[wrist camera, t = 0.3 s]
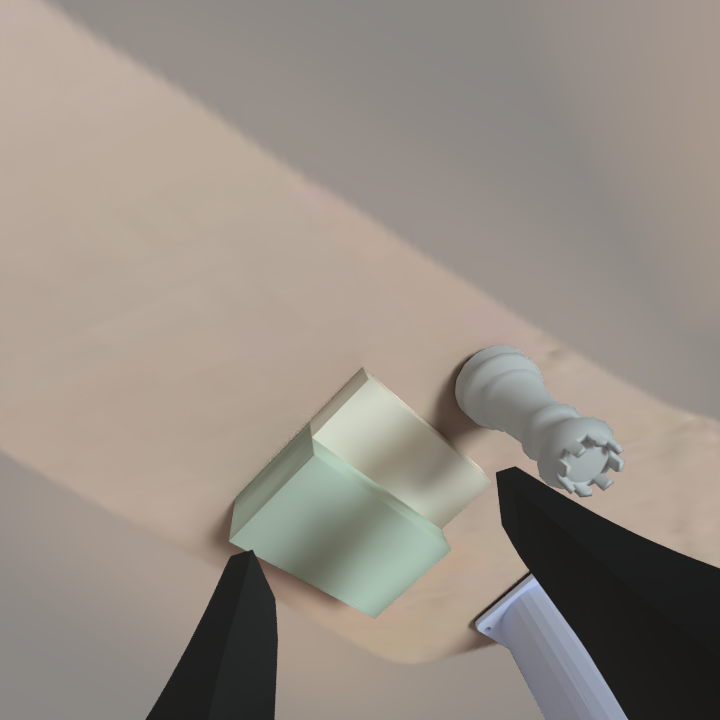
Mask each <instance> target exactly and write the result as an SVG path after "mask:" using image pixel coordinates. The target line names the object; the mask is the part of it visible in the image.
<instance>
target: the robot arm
mask: <svg viewBox="0 0 720 720" xmlns="http://www.w3.org/2000/svg"><path fill="white" fill-rule="evenodd" d="M496 478H497V487H498V496H499V505H500V513H501V522H502V526H503V528H504V530H505V531H506V533H507V535H508V537H509V539H510V540H511V542H512V544H513V546H514V547H515V549H516V551H517V553H518V554H519V556H520V558H521V559H522V561H523V562H524V563H525V565H526V566H527V568H528V569H529V570H530V572H531V573H532V574H530V575H529V576H528V577H527V578H526V579H525V580H523V581H522V582H521V583H520V584H519V585H517V586H516V587H515V588H514V589H513V590H512V591H510V592H509V593H508V594H507V595H506V596H505V597H503V598H502V599H501V600H500V601H499V602H498V603H496V604H495V605H494V606H493V607H492V608H490V609H489V610H488V611H487V612H486V613H485V614H483V615H482V616H481V617H480V618H479V619H478V620H477V621H476V622H475V626H476V628H477V630H478V631H479V632H481V633H483V634H484V635H486V636H488V637H489V638H491V639H493V640H494V641H496V642H498V643H500V644H501V645H503V646H505V647H506V648H508V649H509V650H510V651H511V653H512V655H513V657H514V659H515V661H516V663H517V665H518V667H519V669H520V671H521V673H522V675H523V677H524V679H525V681H526V683H527V685H528V687H529V688H530V690H531V692H532V694H533V696H534V698H535V700H536V702H537V704H538V706H539V708H540V710H541V712H542V714H543V716H544V718H545V720H720V568H717V567H715V566H712V565H709V564H707V563H704V562H701V561H699V560H696V559H693V558H691V557H688V556H686V555H683V554H681V553H678V552H676V551H673V550H671V549H669V548H667V547H664V546H662V545H660V544H657V543H655V542H653V541H650V540H648V539H646V538H644V537H641V536H639V535H637V534H635V533H633V532H631V531H629V530H627V529H625V528H623V527H621V526H619V525H617V524H615V523H613V522H611V521H609V520H607V519H605V518H603V517H601V516H599V515H597V514H596V513H594V512H592V511H590V510H588V509H587V508H585V507H583V506H581V505H580V504H578V503H576V502H574V501H572V500H571V499H569V498H567V497H565V496H564V495H562V494H560V493H559V492H557V491H555V490H554V489H552V488H550V487H549V486H547V485H545V484H544V483H542V482H540V481H539V480H537V479H536V478H534V477H532V476H531V475H529V474H527V473H526V472H524V471H522V470H521V469H519V468H517V467H516V466H515V467H511V468H508V469H505V470H502V471H499V472H496ZM277 647H278V635H277V617H276V603H275V597H274V595H273V593H272V591H271V589H270V586H269V584H268V582H267V580H266V578H265V575H264V573H263V571H262V569H261V567H260V564H259V562H258V560H257V558H256V556H255V553H254V551H253V549H252V550H249V551H246V552H243V553H240V554H237V555H233V556H231V557H230V559H229V560H228V563H227V565H226V567H225V569H224V571H223V574H222V576H221V578H220V580H219V582H218V585H217V587H216V589H215V591H214V593H213V596H212V598H211V600H210V602H209V604H208V606H207V608H206V610H205V612H204V614H203V617H202V618H201V620H200V623H199V624H198V626H197V629H196V630H195V632H194V634H193V636H192V638H191V640H190V642H189V644H188V646H187V648H186V650H185V652H184V654H183V655H182V657H181V659H180V661H179V663H178V665H177V667H176V668H175V670H174V672H173V674H172V676H171V677H170V679H169V681H168V683H167V685H166V686H165V688H164V690H163V691H162V693H161V695H160V697H159V698H158V700H157V702H156V703H155V705H154V707H153V708H152V710H151V712H150V713H149V715H148V716H147V718H146V720H274V715H275V693H276V671H277Z"/></svg>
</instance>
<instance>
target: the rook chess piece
mask: <svg viewBox="0 0 720 720" xmlns="http://www.w3.org/2000/svg"><path fill="white" fill-rule="evenodd" d="M455 396H456V399H457V403H458V406H459V408H460V409H461V410H462V411H463V412H464V413H465V414H466V415H467V416H468V417H470V418H471V419H472V420H473V421H474V422H475V423H476V424H478V425H480V426H483V427H486V428H489V429H492V430H499V431H502V432H503V431H505V432H506V433H508V434H509V435H511V436H512V437H514V438H515V439H516V440H518V441H519V442H521V443H522V447H523V452H524V453H525V454H526V455H527V456H528V457H529V458H530V459H532V460H535V461H537V466H538V470H539V475H540V477H541V478H542V479H543V480H544V481H545V483H546V484H547V485H549V486H552V487H556V488H559V489H566V490H567V491H568V492H569V493H570V494H572V492H573V491H574V492H575V493H576V494H577V495H578V496H579V497H588V496H592V489H591V488H589V487H588V486H590V485H592V484H594V483H595V484H596V485H597V486H599V487H600V488H601V489H602V490H603V491H604V490H605V489H607V488H608V487H609V486H610V485H611V484H613V483H614V482H613V481H612V480H610V479H609V478H608V477H607V476H606V475H605V474H606V473H607V471H608V470H609V469H610V468H612V469H613V470H614V471H616V472H622V469H623V466H624V463H625V461H624V460H623V459H622V458H620V457H619V456H618V454H620V453H621V452H623V451H624V450H623V449H622V448H621V446H620V445H619V444H618V443H617V442H616V441H614V437H613V431H612V430H611V428H610V427H609V426H608V424H607V423H606V422H605V421H602V420H600V419H597V418H595V417H586V418H581V415H580V414H579V412H578V411H577V410H576V408H574V407H572V406H569V405H566V404H560V403H559V402H557V401H556V400H555V399H554V398H553V397H552V396H551V395H550V394H549V393H548V392H547V391H546V390H545V385H544V381H543V380H542V375H541V372H540V370H539V369H538V368H537V366H536V365H535V364H534V363H533V361H532V360H531V359H530V358H529V357H526V356H525V355H524V354H523V353H522V351H520V350H518V349H515V348H513V347H511V346H492V347H489V348H487V349H485V350H482V351H480V352H478V353H476V354H475V355H474V356H473V357H472V358H471V359H470V360H469V361H468V362H466V363H465V364H464V366H463V368H462V370H461V372H460V374H459V375H458V377H457V381H456V388H455Z"/></svg>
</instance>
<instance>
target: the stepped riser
mask: <svg viewBox="0 0 720 720" xmlns="http://www.w3.org/2000/svg"><path fill="white" fill-rule="evenodd" d="M491 484H492V483H491V481H490V480H489V479H488V477H487V476H486V475H485V473H484V472H483V471H482V469H481V468H480V467H479V466H478V465H477V464H476V463H474V462H473V461H472V460H471V459H470V458H469V457H467V456H466V455H465V454H464V453H463V452H461V451H460V450H459V449H458V448H457V447H456V446H454V445H453V444H452V443H451V442H450V441H449V440H447V439H446V438H445V437H444V436H443V435H442V434H440V433H439V432H438V431H437V430H436V429H435V428H433V427H432V426H431V425H430V424H429V423H428V422H426V421H425V420H424V419H423V418H422V417H420V416H419V415H418V414H417V413H416V412H415V411H413V410H412V409H411V408H410V407H409V406H408V405H406V404H405V403H404V402H403V401H402V400H401V399H399V398H398V397H397V396H396V395H395V394H394V393H392V392H391V391H390V390H389V389H388V388H387V387H385V386H384V385H383V384H382V383H381V382H379V381H378V380H377V379H376V378H375V377H374V376H372V375H371V374H370V373H369V372H368V371H367V370H365V369H364V368H362V369H361V370H360V371H359V372H358V373H357V374H356V375H355V376H354V377H353V378H352V379H351V380H350V381H349V382H348V383H347V384H346V385H345V386H344V387H343V388H342V389H341V390H340V391H339V392H338V393H337V394H336V395H335V397H334V398H333V399H332V400H331V401H330V402H329V403H328V404H327V405H326V406H325V407H324V408H323V409H322V410H321V411H320V412H319V413H318V414H317V415H316V416H315V417H314V418H313V419H312V420H311V421H310V422H309V423H308V424H307V425H306V426H305V427H304V428H303V429H302V430H301V432H300V433H299V434H298V435H297V436H296V437H295V438H294V439H293V440H292V441H291V442H290V443H289V444H288V445H287V446H286V447H285V448H284V449H283V450H282V451H281V452H280V453H279V454H278V455H277V456H276V457H275V458H274V459H273V460H272V461H271V462H270V463H269V464H268V465H267V467H266V468H265V469H264V470H263V471H262V472H261V473H260V474H259V475H258V476H257V477H256V478H255V479H254V480H253V481H252V482H251V483H250V484H249V485H248V486H247V487H246V488H245V489H244V490H243V491H242V492H241V493H240V494H239V495H238V496H237V497H236V498H235V503H234V510H233V517H232V524H231V530H230V537H229V542H231V543H233V544H234V545H236V546H238V547H240V548H242V549H244V550H246V551H249V550H252V549H253V551H254V553H255V556H257V557H259V558H261V559H263V560H265V561H267V562H269V563H270V564H272V565H274V566H276V567H278V568H280V569H282V570H284V571H286V572H288V573H289V574H291V575H293V576H295V577H297V578H299V579H301V580H303V581H305V582H306V583H308V584H310V585H312V586H314V587H316V588H318V589H320V590H322V591H324V592H325V593H327V594H329V595H331V596H333V597H335V598H337V599H339V600H341V601H342V602H344V603H346V604H348V605H350V606H352V607H354V608H356V609H358V610H360V611H361V612H363V613H365V614H367V615H369V616H371V617H373V618H376V617H377V616H378V615H379V614H380V613H382V612H383V611H384V610H385V609H386V608H387V607H388V606H389V605H391V604H392V603H393V602H394V601H395V600H396V599H397V598H398V597H399V596H401V595H402V594H403V593H404V592H405V591H406V590H407V589H408V588H409V587H411V586H412V585H413V584H414V583H415V582H416V581H417V580H418V579H419V578H421V577H422V576H423V575H424V574H425V573H426V572H427V571H428V570H430V569H431V568H432V567H433V566H434V565H435V564H436V563H437V562H438V561H440V560H441V559H442V558H443V557H444V556H445V555H446V554H447V553H448V552H450V551H451V548H450V546H449V544H448V542H447V540H446V538H445V536H444V534H443V532H442V530H441V529H442V528H443V527H444V526H446V525H447V524H448V523H449V522H450V521H451V520H452V519H453V518H454V517H455V516H457V515H458V514H459V513H460V512H461V511H462V510H463V509H464V508H465V507H466V506H468V505H469V504H470V503H471V502H472V501H473V500H474V499H475V498H476V497H477V496H478V495H480V494H481V493H482V492H483V491H484V490H485V489H486V488H487V487H488V486H489V485H491Z"/></svg>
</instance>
